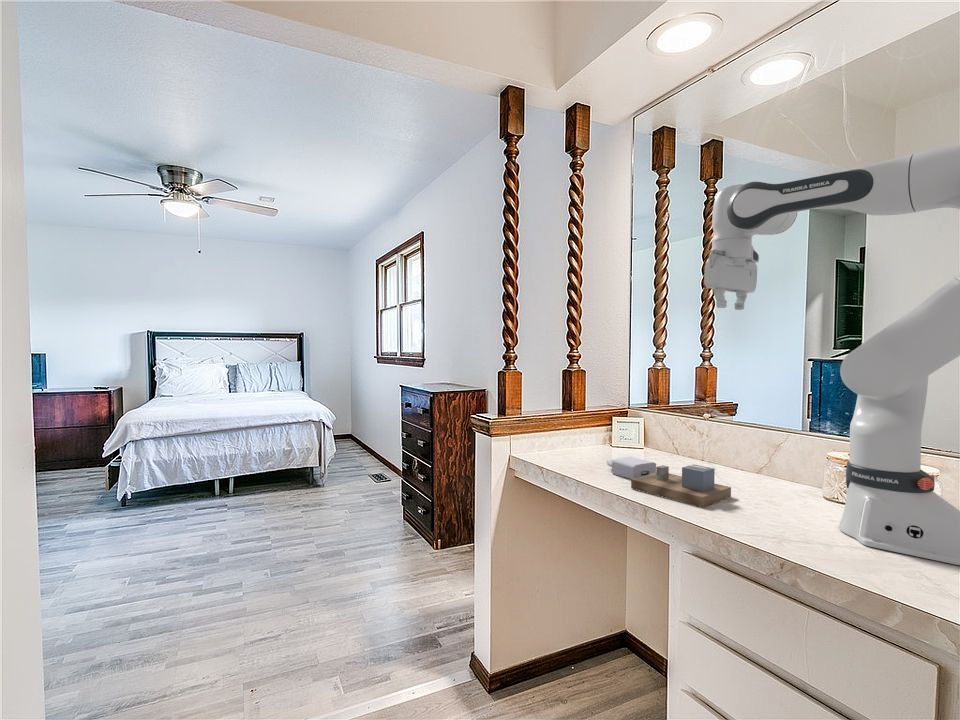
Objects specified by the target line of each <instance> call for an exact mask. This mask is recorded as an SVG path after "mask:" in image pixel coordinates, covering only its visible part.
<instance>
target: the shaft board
mask: <svg viewBox="0 0 960 720" xmlns="http://www.w3.org/2000/svg"><path fill="white" fill-rule="evenodd" d="M669 467H670V466H668V465H658V466H656V473H653V474H649V475H646V476H642V477H638V478H635V479H630V488H633V489H632V490H635V489H637V490H636V491H638V490H640V491H639V492H642V491H644V492H643V493H646V492H648V493H647V494H650V493H651V494H650V495H653V494H655V495H654V496H657V495H659V496H658V497H661V496H663V497H662V498H665V497H667V498H666V499H669V498H670V500H672V499H674V500H673V501H676V500H677V502H680V501H681V503H684V504H687V503H688V505H691V506H695V507H700V508H702V507H703V508H706V507H708V505H709V506H711V505H713V503H714V504H717V503H719V502H721V500H722V501H724V500H726V499H729V498H732V487H731V486H728V485H724V484H718V483H714V488H713V489H710V490H707V491H704V492H701V491H697V490H693V489H689V488H684V487H682V475H679V474H673V473H669V472H670V471H669V470H670V469H669ZM718 501H719V502H718ZM705 506H706V507H705Z"/></svg>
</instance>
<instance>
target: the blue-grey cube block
mask: <svg viewBox="0 0 960 720" xmlns="http://www.w3.org/2000/svg"><path fill="white" fill-rule="evenodd" d="M715 470H716V469H715V468H714V467H710V466H709V467H708V466H704V465H703V466H702V465H698V464H695V463H694V464H690V465H689V464H688V465H686V466H682V467H681V476H682V487H684V488H689V489H693V490H697V491H701V492H704V491H707V490H710V489H713V488H714V484H715V475H716V474H715V473H716V472H715Z"/></svg>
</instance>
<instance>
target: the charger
mask: <svg viewBox="0 0 960 720" xmlns="http://www.w3.org/2000/svg"><path fill="white" fill-rule="evenodd" d="M606 464H607V466H609V467H611V474H613V475H615V474H616V475H615V476H618V475H619V477H622V478H624V479H627V480H631V479H635V478H638V477H642V476H646V475H649V474H653V473H656V467H657V463H656V462H654V461H649V460H646V459H642V458H638V457H634V456H626V457H619V458H613V459H610V460H606Z"/></svg>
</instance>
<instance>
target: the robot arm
mask: <svg viewBox="0 0 960 720" xmlns="http://www.w3.org/2000/svg"><path fill="white" fill-rule="evenodd" d="M713 201H714V202H713V206H712V207H713V208H712V216H711V217H712V219H711V221H712V222H711V227H712V230H713V238H712V241H711V252H710V253H709V255H708V258H707V260H706V263H705V267H704V277H703V278H704V281H703V282H704V286H705V288H706V289H712V290H713V295H714V298H715V301H716V305H715V306H716V308H718V309H724V308H727V303H728V301H727V300H726V298H725V297H726V296H725V294H726V292H731V293H735V296H736V302H734V310H736V311H743V310H744V309H745V303H746V300H747V298H748V294H751V293H754V292H755V291H756V289H757V282H758V265H757V264H756V263H759V261H760V254H758V252H757V251H756V250H755V248H754V247H753V246H754V245H752V243H753V242H752V241H753V240H752V239H753V236H754V235H758V236H759V235H762V236H763V235H764V236H773V235H778V234H782V233H784V232H785V231H788V230H789V228H791V227H792V225H793V224H794V223H795V221H796V219H797V217H798V212H804V211H805V212H806V211H809V210H817V209H824V208H835V209H844V210H848V211H849V210H850V211H853V212H858V213H861V214H866V215H869V216H897V215H906V214H912V213H918V212H924V211H929V210H930V211H931V210H935V209H936V210H937V209H941V208H942V209H943V208H944V209H945V208H948V209H949V208H950V209H951V208H952V209H957V210H960V144H959V145H952V146H951V145H950V146H945V147H939V148H932V149H928V150H923V151H918V152H914V153H911V154H907V155H902V156H899V157H898V156H897V157H895V158H894V157H893V158H891V159H887V160H884V161H883V160H882V161H880V162H876V163H872V164H869V165H864V166H861V167H856V168H853V169H848V170H845V171H840V172H839V171H838V172H833V173H829V174H824V175H818V176H812V177H808V178H803V179H797V180H793V181H788V182H781V183H767V182H763V181H750V182H747V183H745V184H734V185H731V186H728V187H726V188H723V189H722V190H721V191H719V192H718V193H717V194H716V196H715V198H714V200H713ZM958 357H960V272H959V273H957V274H956V275H954V277H952V278H951V279H950V280H949V281H947V282H946V283H945V284H943V286H941V287H939V288H938V289H937V290H936V291H934V292H933V293H932V294H931V295H930V296H928V297H927V298H926V299H925V300H924V301H922V302H921V303H920V304H918V305H917V306H916V307H915V308H913V309H911V310H910V311H908V312H907V313H906V314H904V315H903V316H900V318H898V319H896V320H895V321H893V322H892V323H891V324H889V325H888V326H886V327H885V328H883V329H881V330H880V331H878V332H877V333H876V334H875V335H872V336H871V337H870V338H868V340H866V341H864V342H863V343H862V344H860V345H859V346H857V347H856V348H855V349H853V350H852V351H850V352H849V353H848V354H847V355H846V356H845V357H844V359H843V360H842V362H841V365H840V367H839V373H840V378H841V380H842V382H843V384H844V385H845V386H846V387H847V388H848V389H849V390H850V391H852V392H853V393H854V394H856V395H857V397H856V401H855V403H856V404H855V407H854V412H853V416H852V419H851V421H850V425H849V457H848V458H849V461H847V462H846V467H845V484H846V488H847V493H846V499H845V504H844V509H843V513H842V515H841V516H842V517H841V518H840V521H839V524H838V529H839V530H840V531H841V532H842V533H844V534H846V535H848V536H850V537H852V538H854V539H856V540H857V541H858V542H859V543H860V544H862V545H863V546H867V547H871V548H875V549H880V550H885V551H890V552H895V553H899V554H904V555H908V556H915V557H918V558H923V559H927V560H928V559H929V560H931V561H932V560H933V561H937V562H942V563H947V564H951V565H956V566H960V510H959V509H958V508H956V507H955V506H954V505H953V504H951V503H950V502H948V501H946V500H945V499H944V498H943V497H941V496H940V495H938V494H937V493H936V492H934V491H935V481H936V480H935V478H936V477H935V475H934V474H931V475H930V474H929V473H928V472H926V471H925V470H923V469H921V462H922V461H921V459H922V457H921V456H922V455H921V454H922V453H921V451H922V428H923V420H924V415H925V410H926V403H927V395H928V384H929V376H930V375H931V374H933V373H935V372H937V371H938V370H940V369H941V368H942V367H944V366H945V365H947V364H949V363H950V362H952V361H954V360H956V359H957V358H958Z"/></svg>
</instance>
